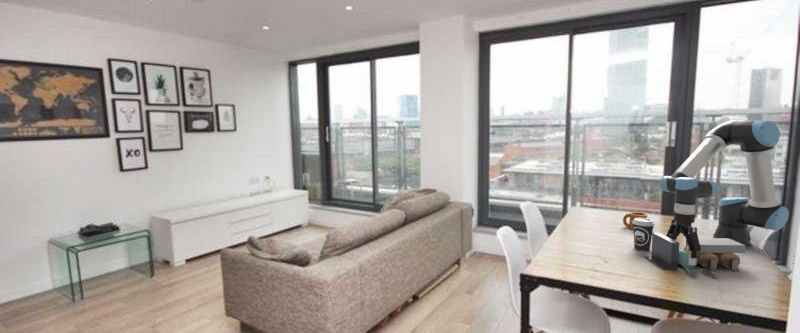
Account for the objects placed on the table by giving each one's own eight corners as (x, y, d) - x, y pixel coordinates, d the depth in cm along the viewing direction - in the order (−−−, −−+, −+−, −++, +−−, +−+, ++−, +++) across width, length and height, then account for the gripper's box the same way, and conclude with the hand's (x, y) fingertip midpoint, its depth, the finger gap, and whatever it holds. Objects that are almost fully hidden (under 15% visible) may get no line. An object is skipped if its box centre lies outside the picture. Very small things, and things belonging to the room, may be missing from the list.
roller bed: (711, 257, 183) (712, 246, 183) (755, 278, 158) (756, 267, 158) (658, 256, 185) (659, 246, 184) (693, 278, 160) (694, 266, 160)
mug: (625, 225, 240) (625, 210, 239) (647, 228, 232) (648, 213, 231) (621, 227, 234) (622, 213, 233) (644, 231, 226) (645, 216, 225)
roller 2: (681, 257, 183) (682, 243, 182) (696, 257, 182) (698, 243, 182) (702, 269, 169) (704, 253, 168) (719, 269, 168) (720, 254, 167)
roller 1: (666, 259, 182) (666, 246, 181) (680, 259, 182) (681, 245, 181) (681, 269, 171) (682, 254, 170) (697, 268, 170) (697, 254, 169)
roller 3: (700, 257, 182) (702, 243, 181) (716, 258, 182) (717, 244, 181) (723, 269, 168) (725, 253, 167) (740, 270, 167) (742, 254, 167)
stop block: (657, 257, 184) (659, 232, 183) (677, 269, 169) (679, 242, 168) (644, 257, 185) (645, 232, 183) (663, 269, 170) (664, 242, 168)
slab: (727, 245, 178) (728, 238, 178) (745, 253, 169) (745, 245, 168) (685, 245, 180) (686, 237, 179) (700, 252, 170) (701, 244, 170)
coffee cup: (656, 252, 191) (658, 222, 189) (635, 251, 193) (636, 221, 191) (648, 246, 200) (650, 217, 198) (628, 245, 202) (629, 217, 200)
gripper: (659, 206, 186) (656, 250, 189) (694, 219, 161) (690, 269, 164) (676, 206, 185) (673, 250, 188) (713, 219, 161) (709, 269, 163)
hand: (681, 259), depth 176 cm, fingers open, 13 cm apart
